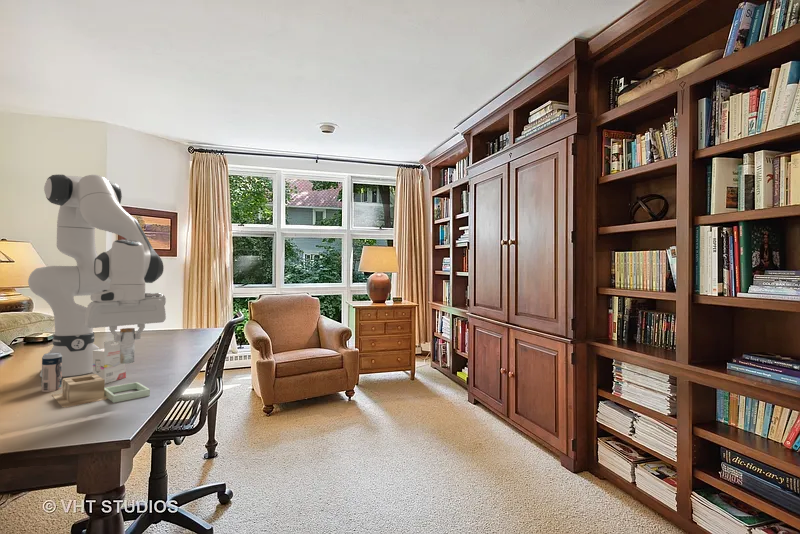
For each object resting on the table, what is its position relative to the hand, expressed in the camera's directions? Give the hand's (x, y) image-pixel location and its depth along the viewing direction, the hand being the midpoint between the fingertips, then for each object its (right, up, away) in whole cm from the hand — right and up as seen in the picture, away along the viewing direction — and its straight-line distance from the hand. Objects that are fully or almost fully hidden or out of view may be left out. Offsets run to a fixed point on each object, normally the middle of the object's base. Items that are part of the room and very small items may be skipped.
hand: (127, 340), depth 124 cm
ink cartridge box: (-16, -17, +15) cm, 28 cm away
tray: (0, -17, 0) cm, 17 cm away
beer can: (-26, -17, +4) cm, 31 cm away
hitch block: (-12, -17, -2) cm, 21 cm away
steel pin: (0, -7, 0) cm, 7 cm away
